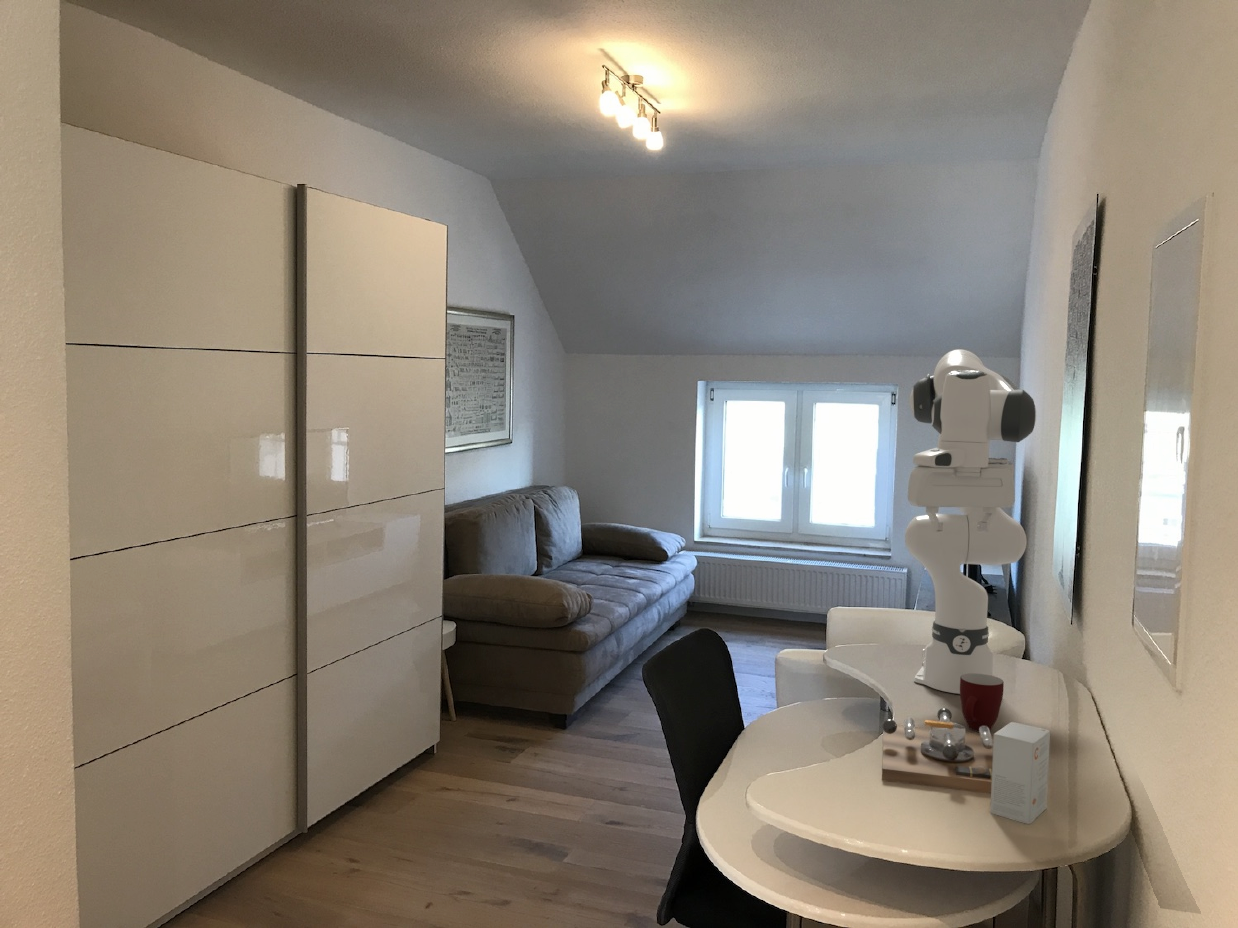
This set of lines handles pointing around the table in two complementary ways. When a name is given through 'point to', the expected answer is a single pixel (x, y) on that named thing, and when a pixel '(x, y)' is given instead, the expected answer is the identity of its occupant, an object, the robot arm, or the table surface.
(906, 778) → the cutting board
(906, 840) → the table surface
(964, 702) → the mug
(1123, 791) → the table surface
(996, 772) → the small box
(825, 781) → the table surface
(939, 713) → the capstan
